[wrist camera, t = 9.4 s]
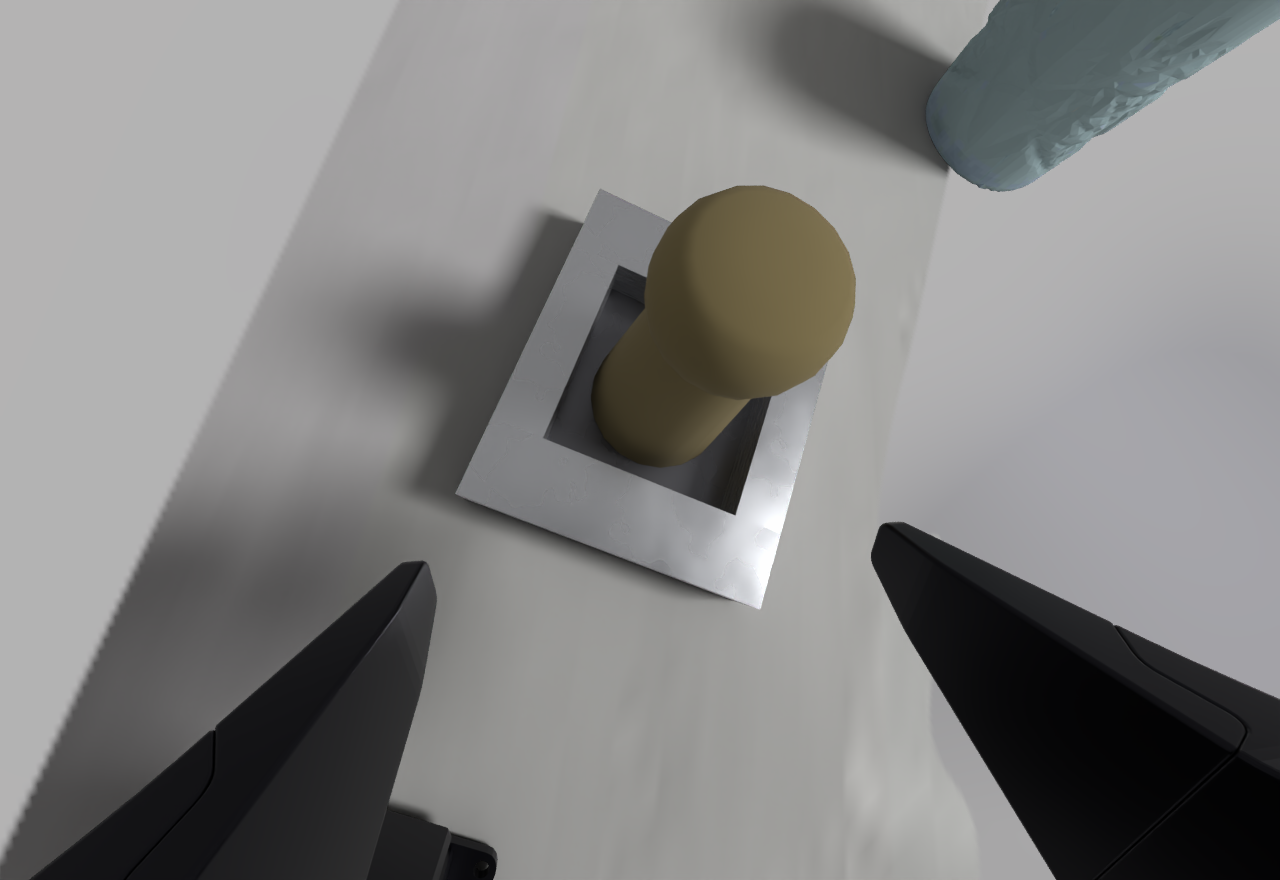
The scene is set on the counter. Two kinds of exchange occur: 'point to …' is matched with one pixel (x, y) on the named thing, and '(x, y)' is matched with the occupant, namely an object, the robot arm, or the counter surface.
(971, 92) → the teal cup
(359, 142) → the counter surface
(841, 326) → the cork
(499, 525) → the counter surface
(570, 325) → the socket plate
